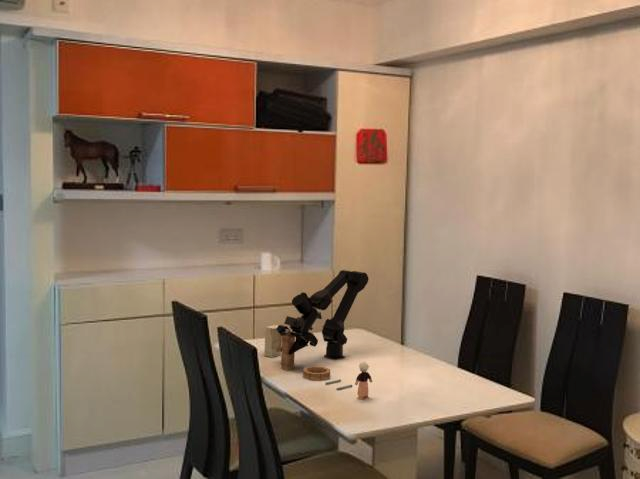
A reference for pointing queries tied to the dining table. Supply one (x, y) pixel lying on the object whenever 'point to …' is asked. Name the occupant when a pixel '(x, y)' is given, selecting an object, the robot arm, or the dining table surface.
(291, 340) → the brown wooden peg
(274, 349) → the skincare box
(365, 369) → the grandmother figurine
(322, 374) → the bead ring
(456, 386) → the dining table surface
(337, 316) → the robot arm
